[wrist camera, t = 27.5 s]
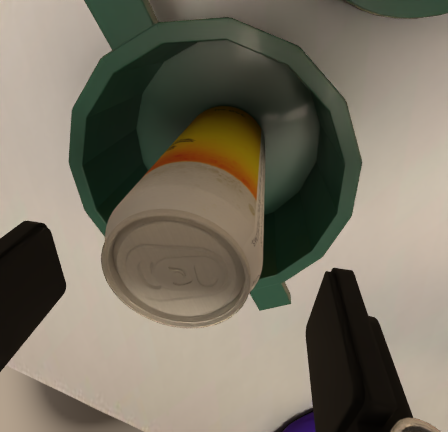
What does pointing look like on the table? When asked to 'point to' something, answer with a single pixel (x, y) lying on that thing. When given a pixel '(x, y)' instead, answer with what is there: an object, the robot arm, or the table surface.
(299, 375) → the table surface
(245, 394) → the table surface
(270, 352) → the table surface
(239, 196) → the beer can
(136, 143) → the pot
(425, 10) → the lid
